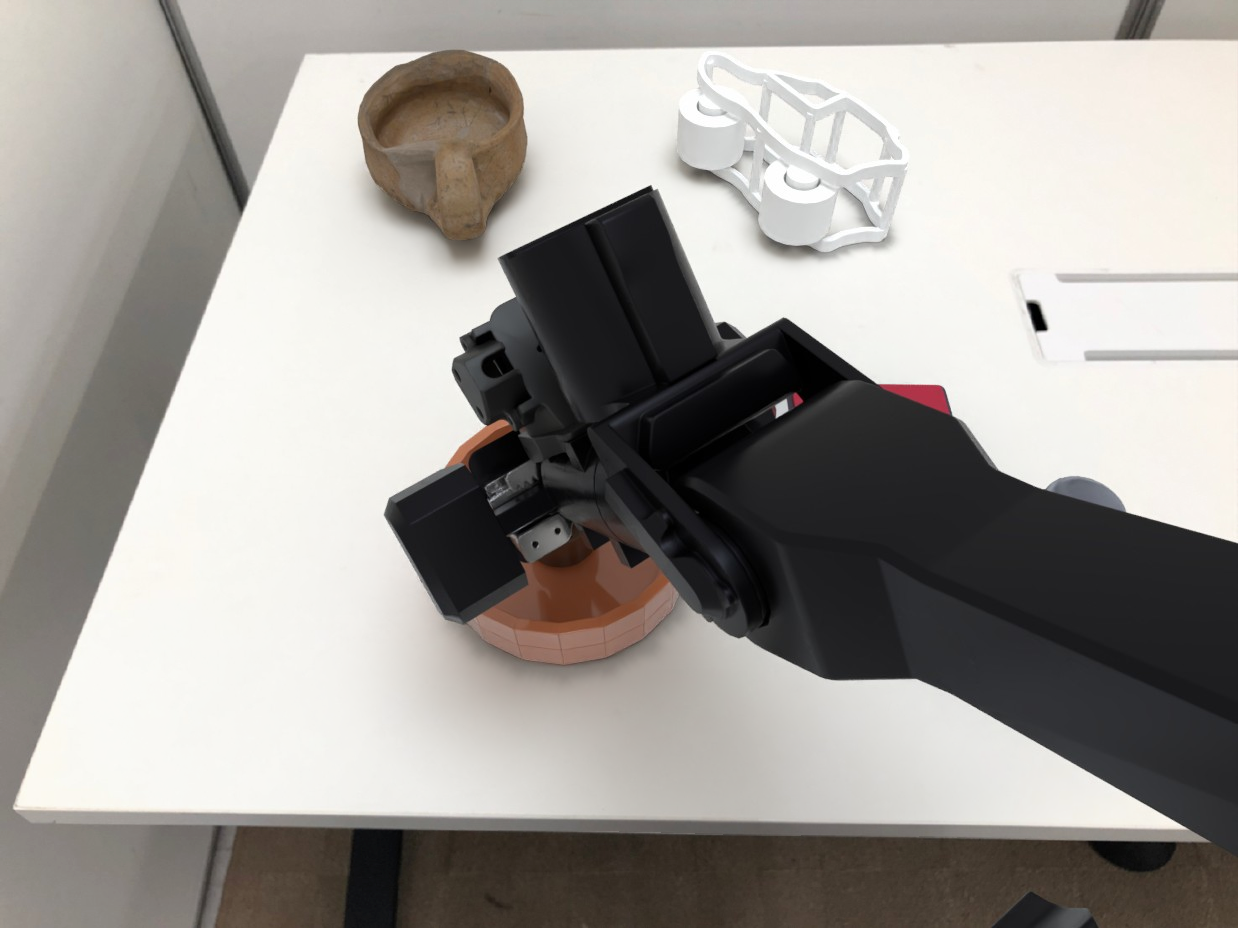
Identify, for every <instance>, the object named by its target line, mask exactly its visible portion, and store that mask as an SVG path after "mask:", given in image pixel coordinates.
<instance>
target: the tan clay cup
mask: <svg viewBox="0 0 1238 928" xmlns="http://www.w3.org/2000/svg"><path fill="white" fill-rule="evenodd" d="M524 105H525V103H524V96H523V93H522V91H521V88H520V87H519V84H518V81H517V79H516V77H514V75H513V74H512V72H511V71H510V70H509V68H508V67H506V66H505V65H504V64H503V63H501V62H499V61H498V60H496V59H494V58H491V57H488V56H485V55H482V54H480V53H476V52H474V51H473V52H472V51H469V50H466V49H445V50H439V51H434V52H430V53H428V54H426V55H422V56H420V57H418V58H415V59H414V60H410V61H407V62H406V63H400V64H397V65H395V66H393V67H391V68H390V69H389V70H386V72H385V73H384V74H382V75H381V76H380V77H379V78H378V79H377V80H376V81H374V82H373V83H372V85H370V87H369V88H368V89H367V91H366V92H365V93H364V95H363V98H362V100H361V103H360V104H359V108H358V112H357V128H358V130H359V131H358V132H359V135H360V138H361V141H362V148H363V155H364V160H365V164H366V167H367V170H368V171H369V174H370V176H371V179H372V181H373V182H374V183H375V184H376V185H377V186H378V187H379V188H380V189H381V190H382V191H383V192H384V193H385V194H386V195H387V196H389V197H390V198H391V199H393V200H395V202H397V203H399V204H400V205H402V206H404V207H406V208H407V209H409V210H410V211H412V212H419V213H423V214H425V215H426V216H429V217H430V219H431V220H432V221H433V222H434V223H435V224H436V225H437V227H438V228H439V230H441V232H442V233H443V235H444V237H445V238H447V239H448V240H451V241H452V240H454V241H466V240H471V239H475V238H477V237H480V236H481V235H482V234H483V233H484V232H485V231H486V227H487V221H488V217H489V215H490V213H491V212H492V209H493V208H494V205H495V204H497V203H498V202H499V200H500V199H501V198H503V195H504V194H505V193H506V192H508V191H509V190H510V189H511V187H512V186H513V184H514V183H515V182H516V180H517V179H518V176H519V175H520V174H521V173H522V170H523V168H524V163H525V161H526V157H527V149H528V133H527V128H526V124H525V118H524V114H525V106H524Z"/></svg>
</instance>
